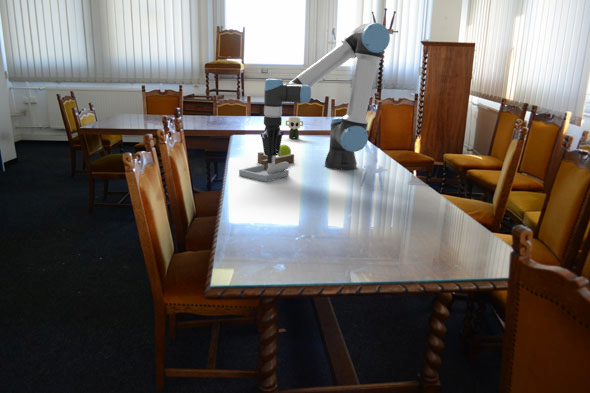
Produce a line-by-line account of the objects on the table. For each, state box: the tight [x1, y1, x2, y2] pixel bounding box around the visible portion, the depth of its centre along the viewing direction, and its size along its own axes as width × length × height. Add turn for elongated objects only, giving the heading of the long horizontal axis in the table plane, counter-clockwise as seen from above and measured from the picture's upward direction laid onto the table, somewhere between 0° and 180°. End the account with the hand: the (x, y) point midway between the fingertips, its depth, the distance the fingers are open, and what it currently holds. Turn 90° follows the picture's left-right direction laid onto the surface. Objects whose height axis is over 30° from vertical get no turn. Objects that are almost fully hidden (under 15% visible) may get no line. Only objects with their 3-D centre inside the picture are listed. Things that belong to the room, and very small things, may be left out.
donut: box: [266, 161, 290, 174], centre depth 204 cm, size 10×4×10 cm
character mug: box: [285, 116, 304, 140], centre depth 299 cm, size 11×7×13 cm, turn 94°
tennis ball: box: [277, 144, 292, 157], centre depth 241 cm, size 7×7×7 cm
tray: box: [238, 164, 289, 183], centre depth 205 cm, size 15×15×2 cm
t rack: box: [257, 151, 295, 170], centre depth 228 cm, size 12×22×5 cm, turn 143°
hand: (271, 170), depth 210 cm, fingers closed
